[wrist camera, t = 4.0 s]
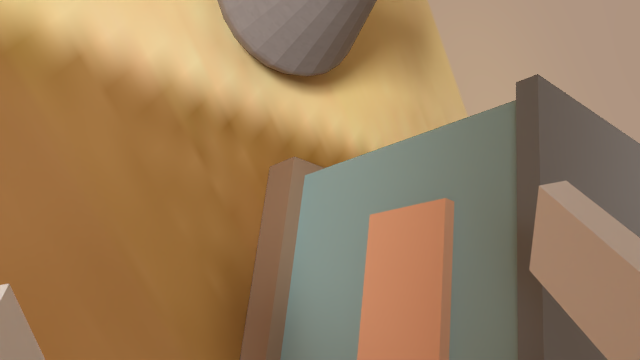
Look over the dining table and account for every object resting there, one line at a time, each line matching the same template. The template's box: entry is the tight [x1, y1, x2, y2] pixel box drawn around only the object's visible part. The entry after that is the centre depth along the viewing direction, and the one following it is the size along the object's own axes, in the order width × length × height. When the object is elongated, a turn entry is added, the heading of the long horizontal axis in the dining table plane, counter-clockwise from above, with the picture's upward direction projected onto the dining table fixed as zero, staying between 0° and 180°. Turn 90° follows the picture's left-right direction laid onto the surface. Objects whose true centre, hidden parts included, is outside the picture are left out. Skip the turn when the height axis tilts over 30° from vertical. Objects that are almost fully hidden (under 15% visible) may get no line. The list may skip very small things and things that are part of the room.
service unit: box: [240, 74, 640, 360], centre depth 30 cm, size 12×18×20 cm, turn 171°
